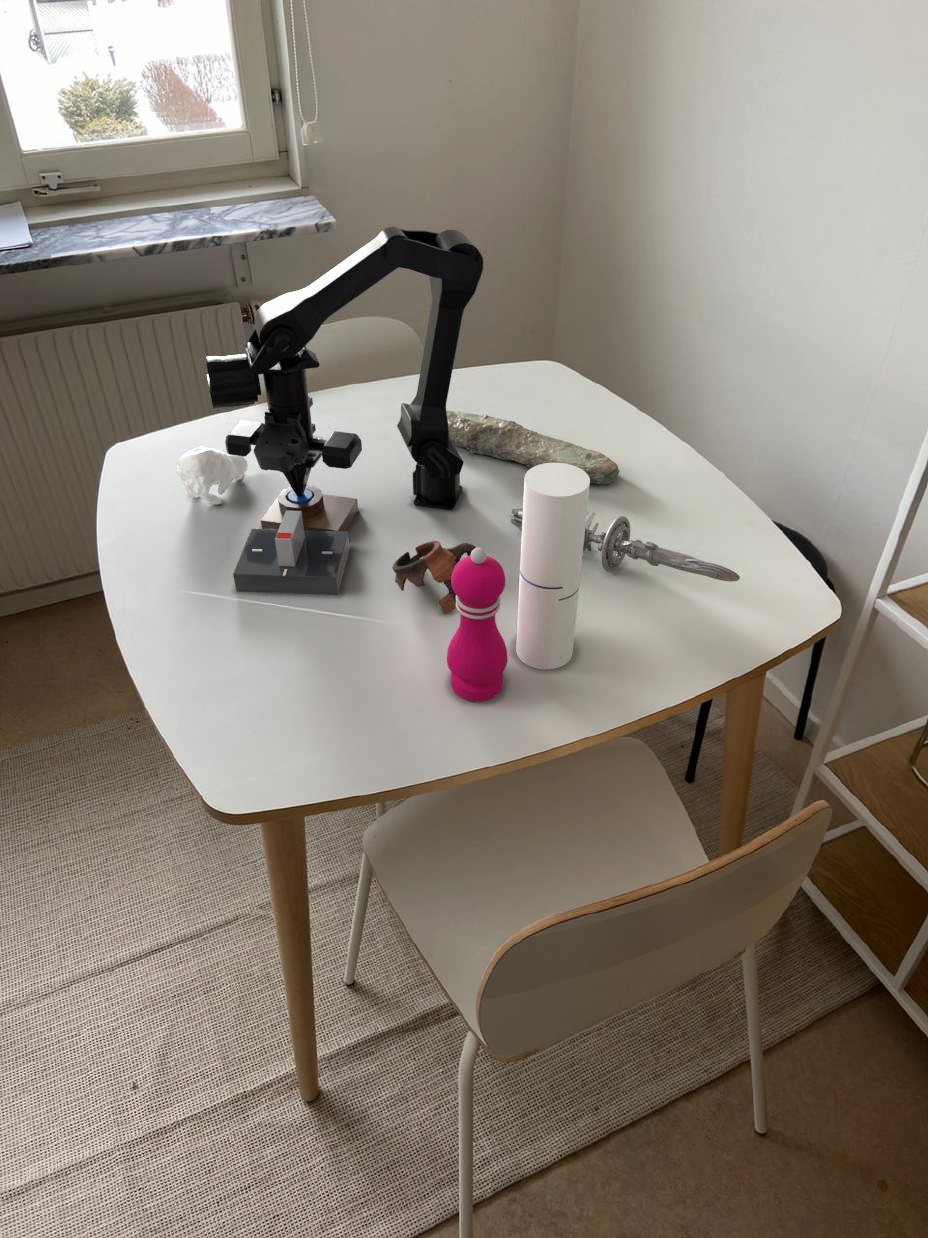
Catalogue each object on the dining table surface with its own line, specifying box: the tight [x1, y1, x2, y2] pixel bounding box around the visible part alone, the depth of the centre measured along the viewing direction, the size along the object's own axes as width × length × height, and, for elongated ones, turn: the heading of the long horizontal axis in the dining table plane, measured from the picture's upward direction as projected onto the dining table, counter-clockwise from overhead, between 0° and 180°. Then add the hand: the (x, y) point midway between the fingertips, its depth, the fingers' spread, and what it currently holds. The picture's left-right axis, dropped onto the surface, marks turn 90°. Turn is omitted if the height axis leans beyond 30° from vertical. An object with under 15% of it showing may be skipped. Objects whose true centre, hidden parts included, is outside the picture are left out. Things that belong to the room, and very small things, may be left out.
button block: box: [260, 484, 359, 532], centre depth 138 cm, size 12×9×4 cm
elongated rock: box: [446, 410, 620, 485], centre depth 154 cm, size 35×5×10 cm
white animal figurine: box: [175, 446, 249, 506], centre depth 144 cm, size 6×8×12 cm
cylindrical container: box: [515, 463, 591, 670], centre depth 109 cm, size 7×7×25 cm
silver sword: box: [508, 506, 741, 583], centre depth 128 cm, size 8×35×8 cm
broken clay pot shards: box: [392, 540, 477, 615], centre depth 125 cm, size 12×10×8 cm
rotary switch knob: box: [275, 510, 305, 567], centre depth 127 cm, size 7×2×5 cm, turn 176°
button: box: [288, 489, 313, 504], centre depth 138 cm, size 4×4×2 cm
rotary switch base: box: [232, 528, 351, 596], centre depth 129 cm, size 14×11×3 cm
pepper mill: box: [446, 547, 509, 703], centre depth 106 cm, size 7×7×20 cm
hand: (300, 494), depth 137 cm, fingers closed, pressing on button
